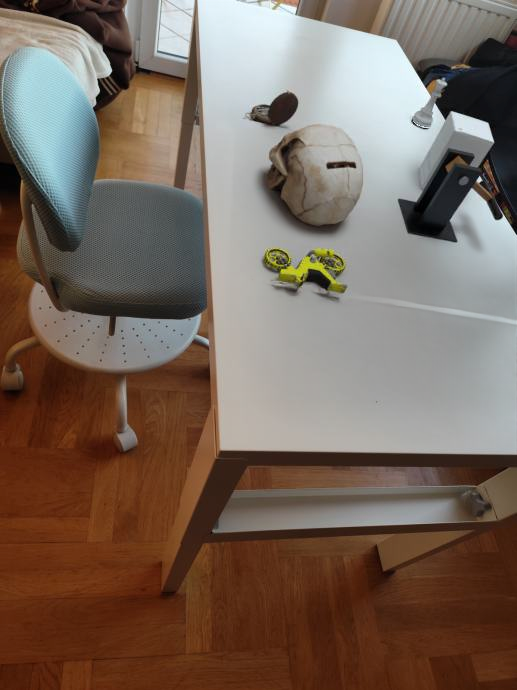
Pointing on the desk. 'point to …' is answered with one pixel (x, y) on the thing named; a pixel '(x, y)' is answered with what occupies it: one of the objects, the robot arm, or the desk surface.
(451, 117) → the white packaging box
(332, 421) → the desk surface
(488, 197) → the lever
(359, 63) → the desk surface
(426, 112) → the chess piece
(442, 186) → the bracket
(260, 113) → the compass
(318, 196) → the coin bank
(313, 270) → the toy motorcycle
